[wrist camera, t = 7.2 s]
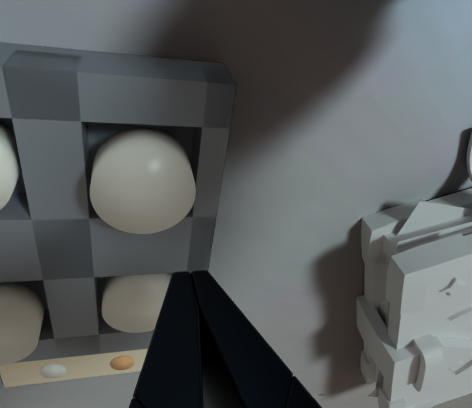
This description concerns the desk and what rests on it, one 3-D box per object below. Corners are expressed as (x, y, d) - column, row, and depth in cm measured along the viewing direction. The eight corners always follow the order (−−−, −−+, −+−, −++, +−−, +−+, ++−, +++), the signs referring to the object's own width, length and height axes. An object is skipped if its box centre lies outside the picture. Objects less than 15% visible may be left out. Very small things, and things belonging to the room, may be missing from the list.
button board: (222, 63, 18) (236, 84, 16) (190, 308, 29) (196, 343, 26) (-166, 26, 14) (-223, 47, 12) (-42, 327, 24) (-60, 370, 22)
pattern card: (170, 318, 29) (170, 323, 28) (166, 364, 32) (166, 368, 32) (-12, 334, 25) (-13, 339, 25) (5, 383, 29) (4, 388, 29)
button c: (177, 256, 23) (181, 280, 22) (173, 304, 26) (176, 329, 24) (101, 259, 22) (99, 285, 21) (104, 309, 25) (103, 336, 23)
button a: (193, 129, 17) (200, 150, 16) (186, 207, 20) (191, 232, 18) (90, 124, 16) (86, 147, 14) (96, 208, 19) (93, 235, 17)
